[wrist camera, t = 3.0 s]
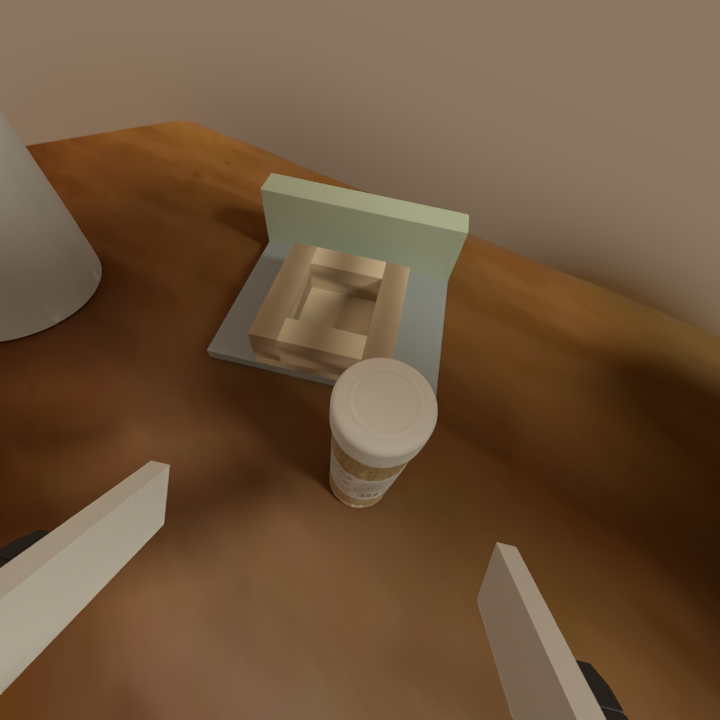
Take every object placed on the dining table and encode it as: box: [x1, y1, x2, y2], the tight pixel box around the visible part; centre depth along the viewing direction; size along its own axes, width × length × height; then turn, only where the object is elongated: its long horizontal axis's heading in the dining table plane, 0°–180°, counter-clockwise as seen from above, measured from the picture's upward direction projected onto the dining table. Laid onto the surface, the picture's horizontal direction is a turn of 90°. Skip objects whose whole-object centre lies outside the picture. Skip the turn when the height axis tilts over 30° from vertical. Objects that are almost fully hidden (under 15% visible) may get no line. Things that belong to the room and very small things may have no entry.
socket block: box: [248, 242, 410, 380], centre depth 29 cm, size 11×11×4 cm
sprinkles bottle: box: [329, 358, 438, 508], centre depth 19 cm, size 5×5×14 cm
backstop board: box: [207, 173, 469, 397], centre depth 31 cm, size 20×18×7 cm
